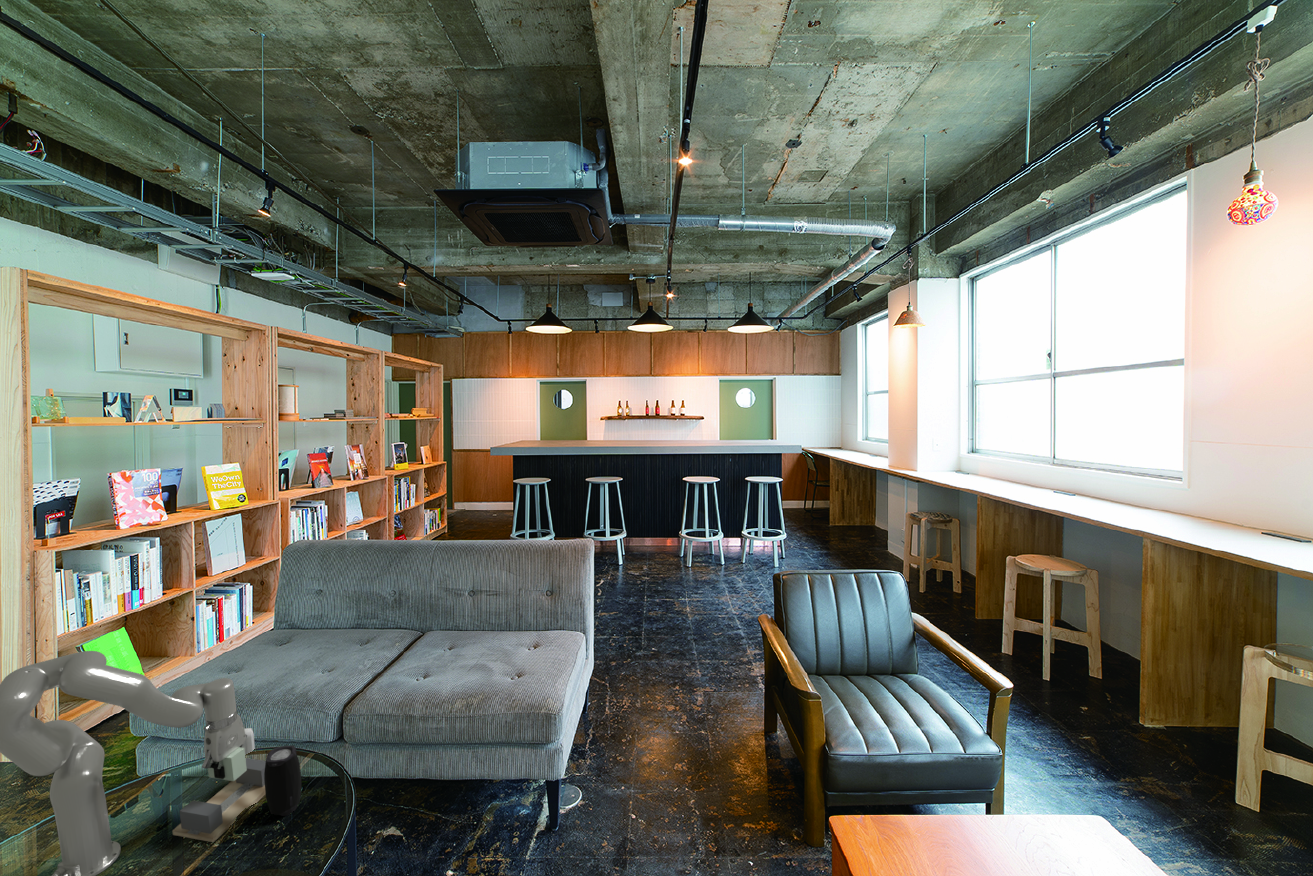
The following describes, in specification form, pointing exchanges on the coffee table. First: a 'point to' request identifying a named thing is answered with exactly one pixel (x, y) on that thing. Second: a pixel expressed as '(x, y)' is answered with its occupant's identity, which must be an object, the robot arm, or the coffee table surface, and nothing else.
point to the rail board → (223, 805)
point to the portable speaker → (282, 780)
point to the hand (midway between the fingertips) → (227, 771)
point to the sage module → (232, 765)
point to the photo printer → (249, 741)
